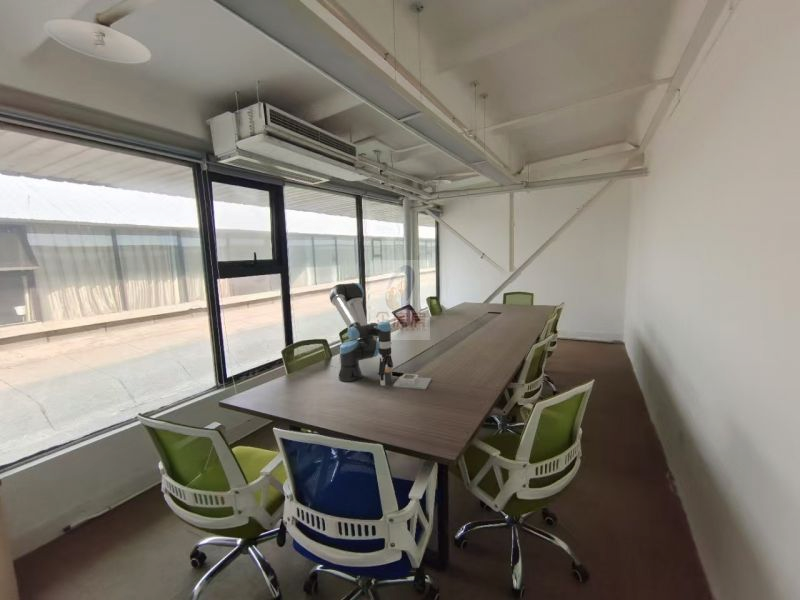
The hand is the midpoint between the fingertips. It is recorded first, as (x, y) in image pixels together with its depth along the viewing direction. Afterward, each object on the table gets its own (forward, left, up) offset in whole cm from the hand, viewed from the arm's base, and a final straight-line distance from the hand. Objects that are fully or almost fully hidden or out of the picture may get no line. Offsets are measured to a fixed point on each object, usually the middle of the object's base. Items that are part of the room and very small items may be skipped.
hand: (386, 381), depth 206 cm
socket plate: (+16, +2, -1) cm, 16 cm away
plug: (0, 0, -1) cm, 1 cm away
